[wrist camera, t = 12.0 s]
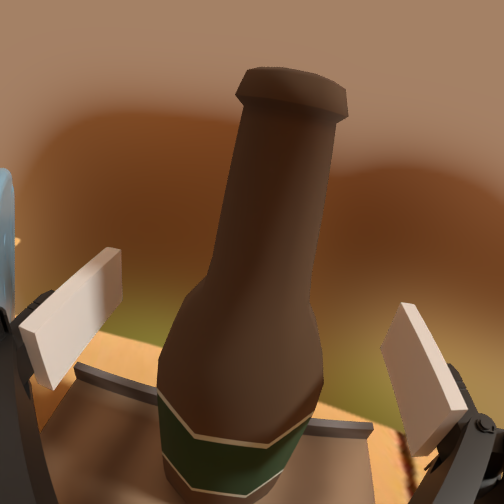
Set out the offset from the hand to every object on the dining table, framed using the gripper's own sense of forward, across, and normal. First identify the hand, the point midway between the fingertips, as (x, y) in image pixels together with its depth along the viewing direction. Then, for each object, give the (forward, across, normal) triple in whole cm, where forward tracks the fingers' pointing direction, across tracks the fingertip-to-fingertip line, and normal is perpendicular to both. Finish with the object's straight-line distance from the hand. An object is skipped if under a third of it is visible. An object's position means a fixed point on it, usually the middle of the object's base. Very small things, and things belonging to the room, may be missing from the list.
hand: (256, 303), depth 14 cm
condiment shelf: (-2, -1, -18) cm, 18 cm away
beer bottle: (-1, 0, -15) cm, 15 cm away
